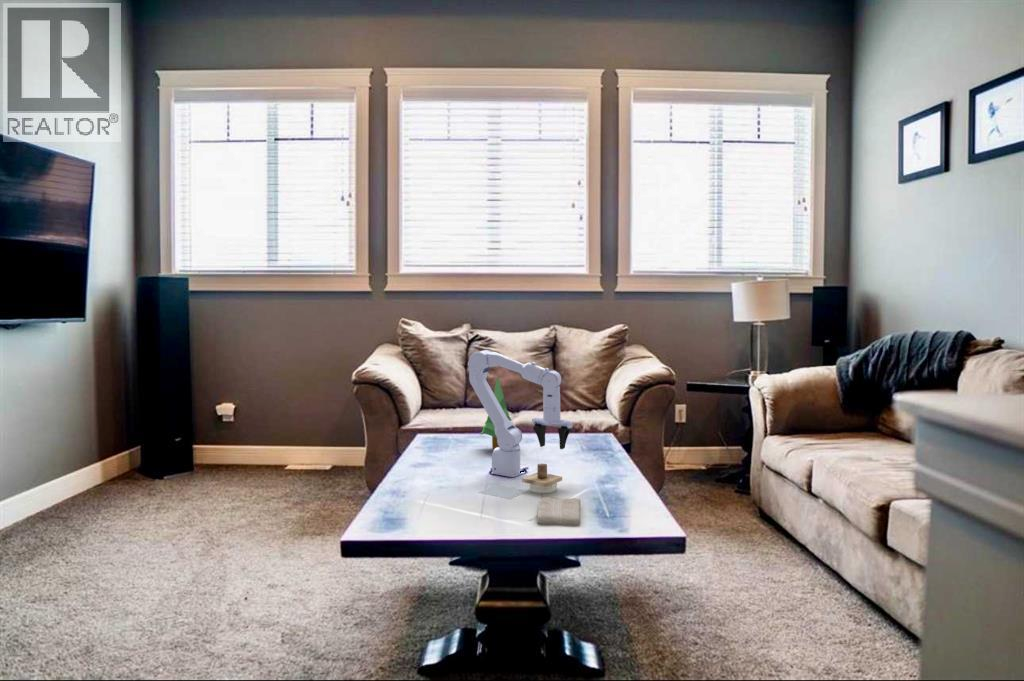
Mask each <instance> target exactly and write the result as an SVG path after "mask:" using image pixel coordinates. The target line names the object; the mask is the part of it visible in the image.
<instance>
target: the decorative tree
mask: <svg viewBox="0 0 1024 681" xmlns="http://www.w3.org/2000/svg"><path fill="white" fill-rule="evenodd" d="M493 393H494V395H495V397H496V399H497V400H498V402H499V404H500V406H501V407H502V409H503V411H504V413H505V415H506V416H507V418H508V419H509V420H510V421H511V422H512V419H511V417H510V413H509V411H508V409H507V404H506V402H505V399H504V398H505V396H504V392H503V388H502V385H501V381H500V379H499V375H497V377H496V382H495V387H494V390H493ZM486 418H487V419H486V420H485V423H484V426H483V428H482V430H481V432H480V433H479V435H484V434H485V435H487V436H491V437H492V438H491V446H492V447H491V449H492V451H494V449H495V448H497V447H499V445H498V443H497V437H496V435H495V426H494V424H493V423H492V421H491V419H490V417H489V415H488V414H487V417H486Z"/></svg>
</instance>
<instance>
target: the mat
mask: <svg viewBox="0 0 1024 681" xmlns="http://www.w3.org/2000/svg"><path fill="white" fill-rule="evenodd" d="M528 491H529V490H527V489H522V488H517V487H511V486H505V485H502V484H501V485H500V484H494V485H492V486H490V487H488V488H485V489H483V490H481V491H478V494H482V495H488V496H492V497H499V498H503V499H508V500H512V499H514V498H517V497H519V496H521V495H522V494H525V493H527V492H528Z"/></svg>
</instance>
